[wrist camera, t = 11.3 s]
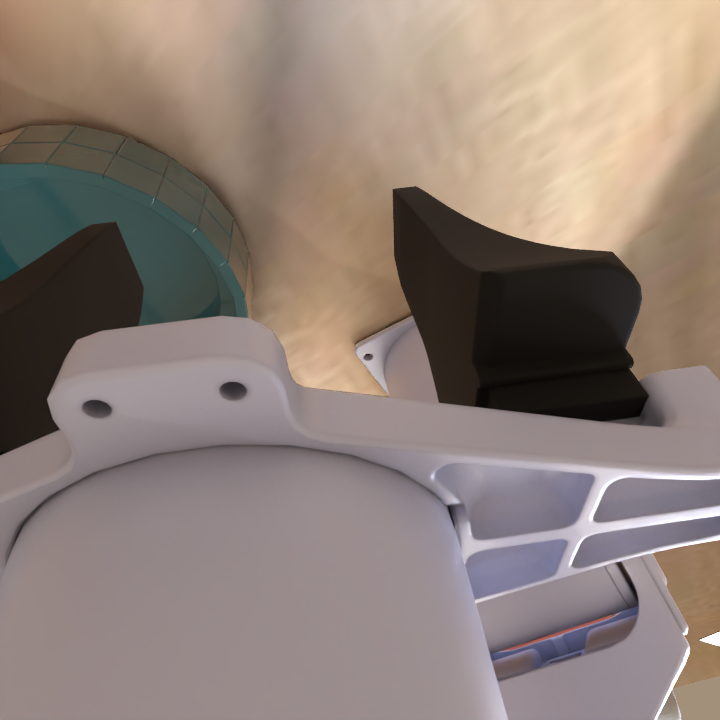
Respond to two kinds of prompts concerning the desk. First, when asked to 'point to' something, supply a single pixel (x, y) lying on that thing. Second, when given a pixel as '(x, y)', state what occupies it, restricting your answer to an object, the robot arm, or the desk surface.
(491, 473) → the robot arm
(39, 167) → the bowl
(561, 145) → the desk surface
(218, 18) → the desk surface
